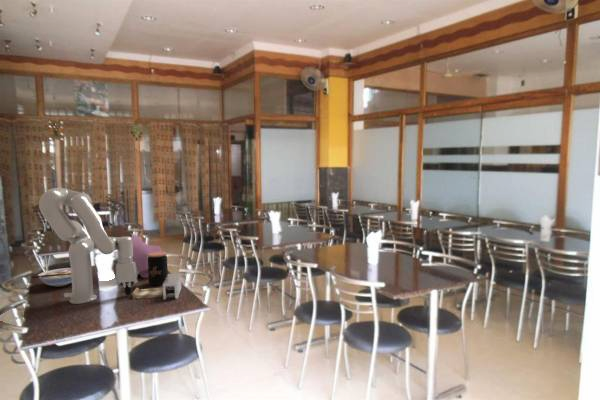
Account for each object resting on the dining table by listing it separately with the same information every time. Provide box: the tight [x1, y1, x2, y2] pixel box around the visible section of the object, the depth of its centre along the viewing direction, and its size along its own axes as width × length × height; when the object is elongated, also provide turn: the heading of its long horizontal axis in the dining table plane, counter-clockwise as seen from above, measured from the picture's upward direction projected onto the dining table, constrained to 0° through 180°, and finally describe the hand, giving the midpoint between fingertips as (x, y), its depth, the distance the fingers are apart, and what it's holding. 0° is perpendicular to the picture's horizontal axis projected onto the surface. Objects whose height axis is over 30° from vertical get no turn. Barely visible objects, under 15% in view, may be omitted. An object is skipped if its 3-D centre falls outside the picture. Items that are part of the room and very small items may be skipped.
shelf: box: [162, 272, 183, 300], centre depth 226 cm, size 7×20×8 cm, turn 10°
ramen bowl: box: [31, 267, 72, 288], centre depth 245 cm, size 25×23×8 cm
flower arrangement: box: [130, 232, 163, 279], centre depth 266 cm, size 35×24×28 cm
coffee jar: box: [148, 251, 169, 287], centre depth 244 cm, size 11×11×18 cm
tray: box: [131, 287, 163, 300], centre depth 225 cm, size 15×10×3 cm, turn 100°
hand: (128, 293), depth 223 cm, fingers closed
